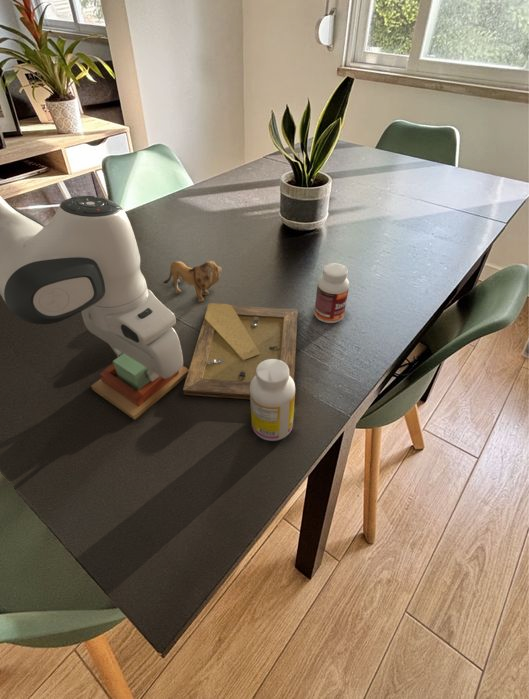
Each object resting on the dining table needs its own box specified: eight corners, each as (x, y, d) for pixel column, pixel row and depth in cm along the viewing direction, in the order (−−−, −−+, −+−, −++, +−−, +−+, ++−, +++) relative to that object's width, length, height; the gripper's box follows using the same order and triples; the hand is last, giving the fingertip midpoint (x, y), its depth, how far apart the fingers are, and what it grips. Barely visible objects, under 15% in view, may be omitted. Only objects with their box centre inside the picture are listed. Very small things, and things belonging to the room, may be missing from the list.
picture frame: (209, 309, 90) (184, 395, 73) (208, 303, 89) (182, 388, 72) (297, 314, 89) (292, 403, 72) (297, 308, 88) (293, 396, 71)
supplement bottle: (279, 403, 72) (282, 348, 63) (300, 432, 67) (306, 377, 59) (244, 418, 69) (241, 363, 61) (263, 449, 65) (263, 394, 56)
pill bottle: (337, 328, 86) (344, 282, 78) (309, 318, 88) (313, 273, 80) (348, 311, 90) (356, 266, 82) (321, 302, 92) (326, 258, 84)
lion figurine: (226, 293, 94) (224, 258, 88) (215, 307, 91) (212, 271, 85) (169, 278, 98) (163, 243, 92) (157, 291, 95) (149, 255, 89)
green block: (139, 391, 72) (134, 375, 69) (118, 377, 74) (112, 361, 71) (163, 372, 75) (159, 356, 72) (142, 359, 77) (137, 343, 74)
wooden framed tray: (134, 420, 69) (130, 408, 67) (92, 389, 74) (87, 377, 72) (190, 373, 77) (188, 361, 75) (148, 348, 81) (145, 336, 79)
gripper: (60, 290, 66) (86, 353, 76) (150, 343, 57) (166, 407, 67) (93, 272, 70) (114, 335, 80) (183, 319, 61) (194, 383, 71)
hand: (139, 368), depth 73 cm, fingers closed on green block, 5 cm apart
